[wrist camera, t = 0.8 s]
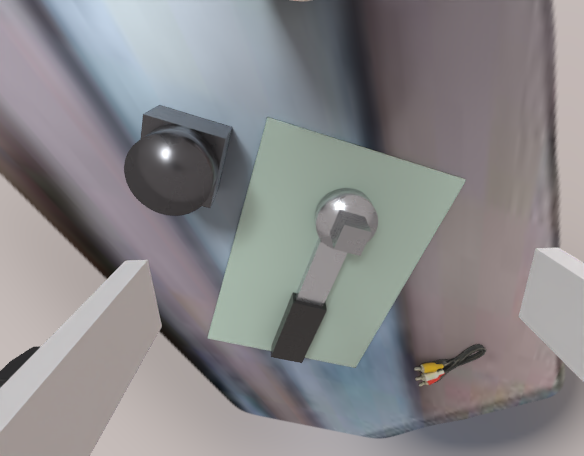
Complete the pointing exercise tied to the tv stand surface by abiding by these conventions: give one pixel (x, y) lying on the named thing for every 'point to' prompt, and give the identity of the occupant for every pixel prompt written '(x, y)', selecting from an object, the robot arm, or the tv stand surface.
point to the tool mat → (303, 237)
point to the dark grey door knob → (176, 161)
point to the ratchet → (324, 267)
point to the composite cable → (447, 365)
